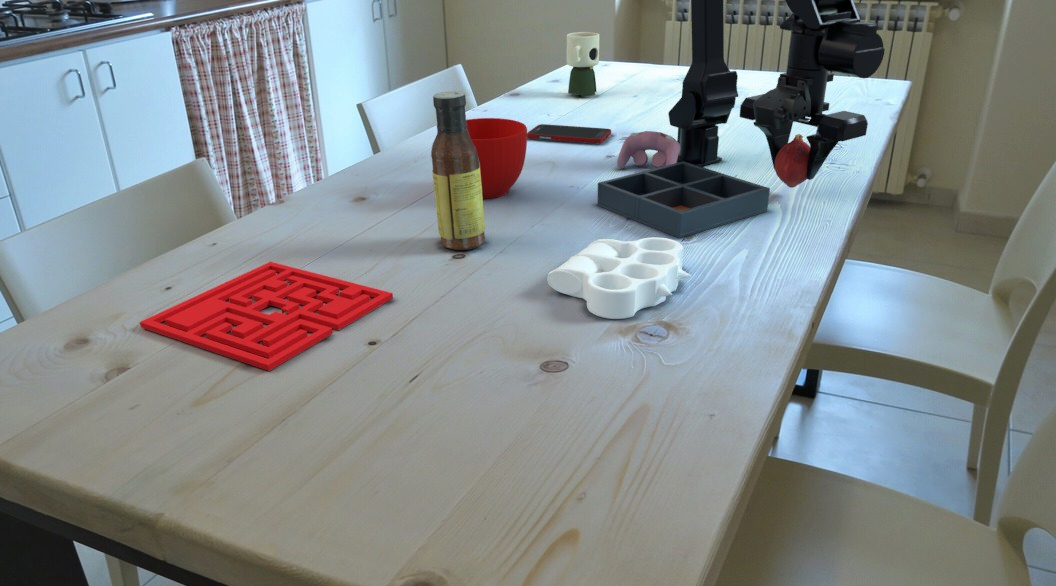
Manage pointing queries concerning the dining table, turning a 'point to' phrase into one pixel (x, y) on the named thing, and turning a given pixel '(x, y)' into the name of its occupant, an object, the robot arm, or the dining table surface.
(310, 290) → the maze puzzle
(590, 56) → the character mug
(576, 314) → the dining table surface
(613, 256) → the white brass knuckles
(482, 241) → the sauce bottle
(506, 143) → the ceramic cup
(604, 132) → the cell phone
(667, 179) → the grid
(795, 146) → the onion
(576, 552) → the dining table surface
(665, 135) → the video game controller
